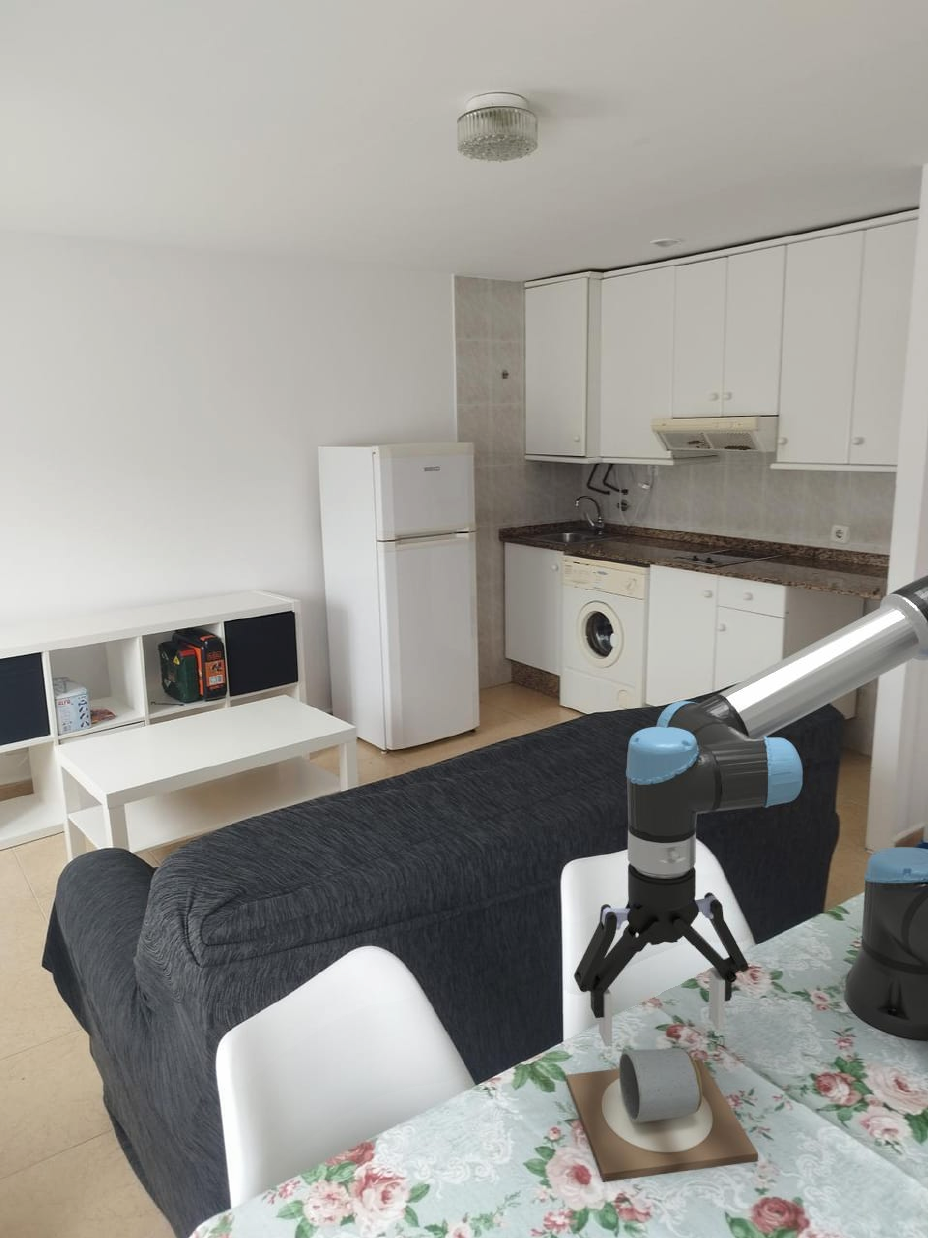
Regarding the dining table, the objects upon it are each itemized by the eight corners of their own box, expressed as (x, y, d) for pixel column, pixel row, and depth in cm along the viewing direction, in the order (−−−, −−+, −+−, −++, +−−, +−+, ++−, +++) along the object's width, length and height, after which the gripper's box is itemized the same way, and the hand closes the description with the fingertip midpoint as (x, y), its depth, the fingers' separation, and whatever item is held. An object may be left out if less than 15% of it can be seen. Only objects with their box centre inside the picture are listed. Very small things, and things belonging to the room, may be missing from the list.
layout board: (701, 1065, 116) (701, 1056, 116) (757, 1161, 101) (758, 1151, 100) (566, 1081, 114) (566, 1072, 113) (603, 1182, 98) (603, 1171, 98)
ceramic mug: (705, 1128, 104) (707, 1069, 102) (638, 1139, 102) (639, 1079, 101) (669, 1069, 114) (670, 1014, 113) (608, 1078, 113) (608, 1022, 111)
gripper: (562, 892, 96) (566, 1067, 100) (781, 868, 99) (776, 1038, 103) (546, 860, 103) (550, 1025, 107) (750, 839, 106) (747, 999, 110)
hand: (661, 1032), depth 105 cm, fingers open, 13 cm apart
